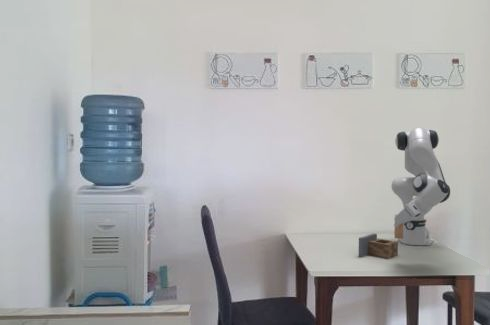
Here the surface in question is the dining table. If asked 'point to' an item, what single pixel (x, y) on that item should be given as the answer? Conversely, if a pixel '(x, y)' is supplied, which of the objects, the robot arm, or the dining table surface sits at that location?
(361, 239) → the wall
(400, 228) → the dowel
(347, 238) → the dining table surface
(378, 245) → the socket block
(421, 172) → the robot arm
